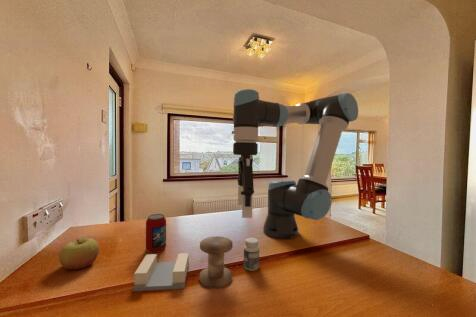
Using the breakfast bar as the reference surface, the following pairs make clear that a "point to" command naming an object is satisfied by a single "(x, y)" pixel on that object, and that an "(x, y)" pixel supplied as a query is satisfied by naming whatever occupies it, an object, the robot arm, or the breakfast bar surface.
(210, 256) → the bobbin
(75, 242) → the apple
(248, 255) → the pill bottle
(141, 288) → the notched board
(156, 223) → the beverage can
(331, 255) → the breakfast bar surface
